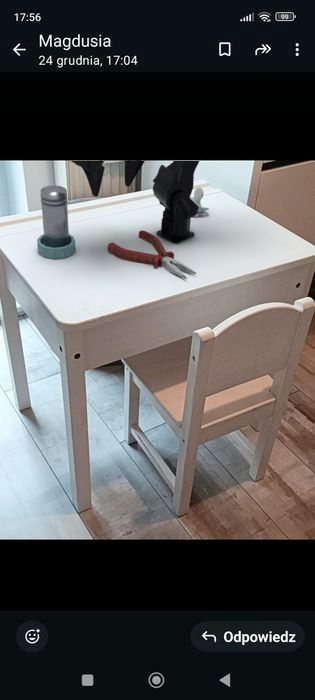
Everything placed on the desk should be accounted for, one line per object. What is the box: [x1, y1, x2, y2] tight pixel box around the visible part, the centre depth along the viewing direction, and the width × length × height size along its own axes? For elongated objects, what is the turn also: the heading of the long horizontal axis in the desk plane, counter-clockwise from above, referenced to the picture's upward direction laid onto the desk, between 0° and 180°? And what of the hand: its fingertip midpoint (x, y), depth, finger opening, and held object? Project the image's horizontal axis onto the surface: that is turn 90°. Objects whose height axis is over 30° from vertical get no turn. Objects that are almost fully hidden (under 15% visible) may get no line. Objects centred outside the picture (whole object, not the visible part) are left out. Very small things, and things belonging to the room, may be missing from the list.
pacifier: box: [190, 186, 210, 218], centre depth 140 cm, size 7×6×6 cm
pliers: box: [107, 230, 197, 280], centre depth 121 cm, size 12×20×3 cm, turn 45°
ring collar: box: [36, 233, 76, 260], centre depth 122 cm, size 8×8×2 cm
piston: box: [40, 185, 70, 248], centre depth 118 cm, size 5×5×13 cm
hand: (111, 190), depth 117 cm, fingers open, 9 cm apart
